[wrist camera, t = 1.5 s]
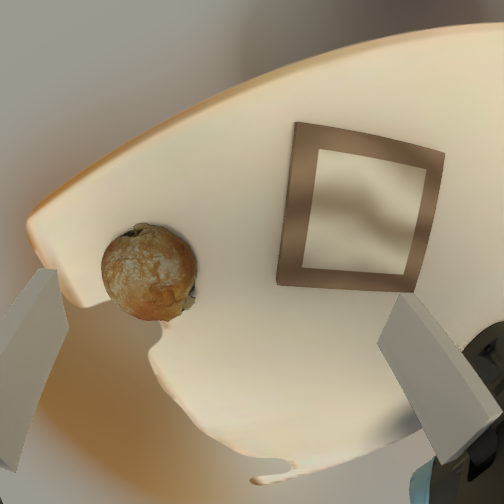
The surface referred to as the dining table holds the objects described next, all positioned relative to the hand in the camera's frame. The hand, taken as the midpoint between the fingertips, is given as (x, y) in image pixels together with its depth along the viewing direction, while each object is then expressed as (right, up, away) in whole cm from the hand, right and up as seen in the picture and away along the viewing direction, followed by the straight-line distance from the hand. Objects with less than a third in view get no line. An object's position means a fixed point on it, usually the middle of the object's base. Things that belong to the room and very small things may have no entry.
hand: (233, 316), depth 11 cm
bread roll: (-10, +1, +22) cm, 24 cm away
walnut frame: (+12, +6, +20) cm, 24 cm away
